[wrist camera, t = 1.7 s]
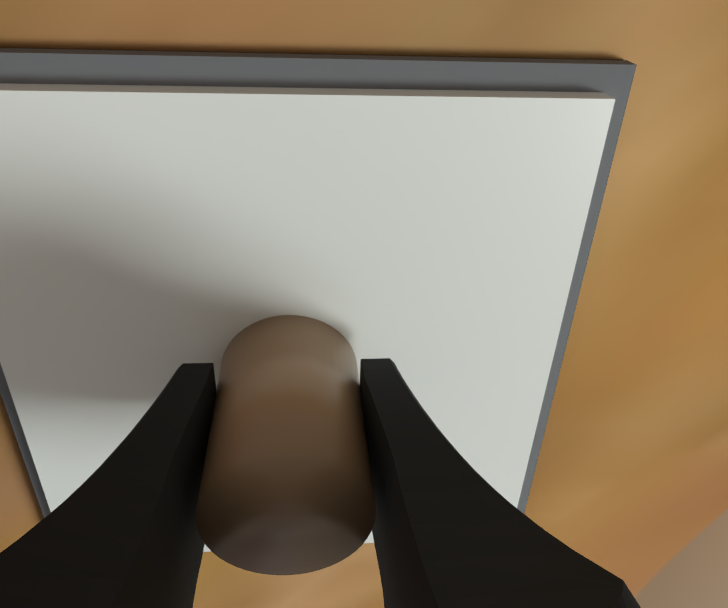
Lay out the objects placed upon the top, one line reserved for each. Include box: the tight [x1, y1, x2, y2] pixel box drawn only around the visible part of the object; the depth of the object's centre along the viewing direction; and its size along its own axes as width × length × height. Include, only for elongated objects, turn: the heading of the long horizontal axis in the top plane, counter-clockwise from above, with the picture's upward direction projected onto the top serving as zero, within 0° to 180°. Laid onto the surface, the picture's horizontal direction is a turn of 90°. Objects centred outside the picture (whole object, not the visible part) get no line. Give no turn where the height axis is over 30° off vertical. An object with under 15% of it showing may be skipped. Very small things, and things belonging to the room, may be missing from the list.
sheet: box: [0, 83, 615, 575], centre depth 12 cm, size 12×12×4 cm
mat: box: [0, 48, 636, 518], centre depth 14 cm, size 13×13×1 cm
